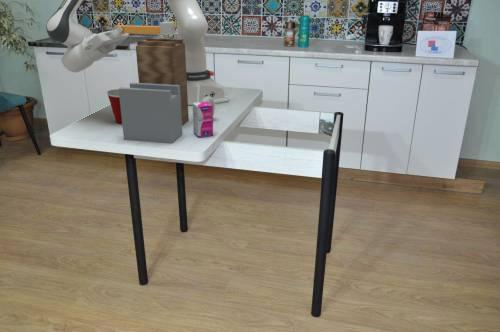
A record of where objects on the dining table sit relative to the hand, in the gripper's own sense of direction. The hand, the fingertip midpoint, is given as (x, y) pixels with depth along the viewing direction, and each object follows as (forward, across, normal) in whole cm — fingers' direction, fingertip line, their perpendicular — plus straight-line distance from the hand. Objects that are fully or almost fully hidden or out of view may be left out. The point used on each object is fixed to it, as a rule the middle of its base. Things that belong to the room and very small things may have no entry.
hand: (124, 27), depth 174 cm
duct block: (-4, -16, +38) cm, 42 cm away
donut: (+7, +6, +45) cm, 46 cm away
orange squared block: (+6, 0, +5) cm, 8 cm away
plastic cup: (-21, -1, +29) cm, 36 cm away
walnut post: (-6, 0, +38) cm, 38 cm away
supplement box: (+10, -10, +47) cm, 49 cm away
